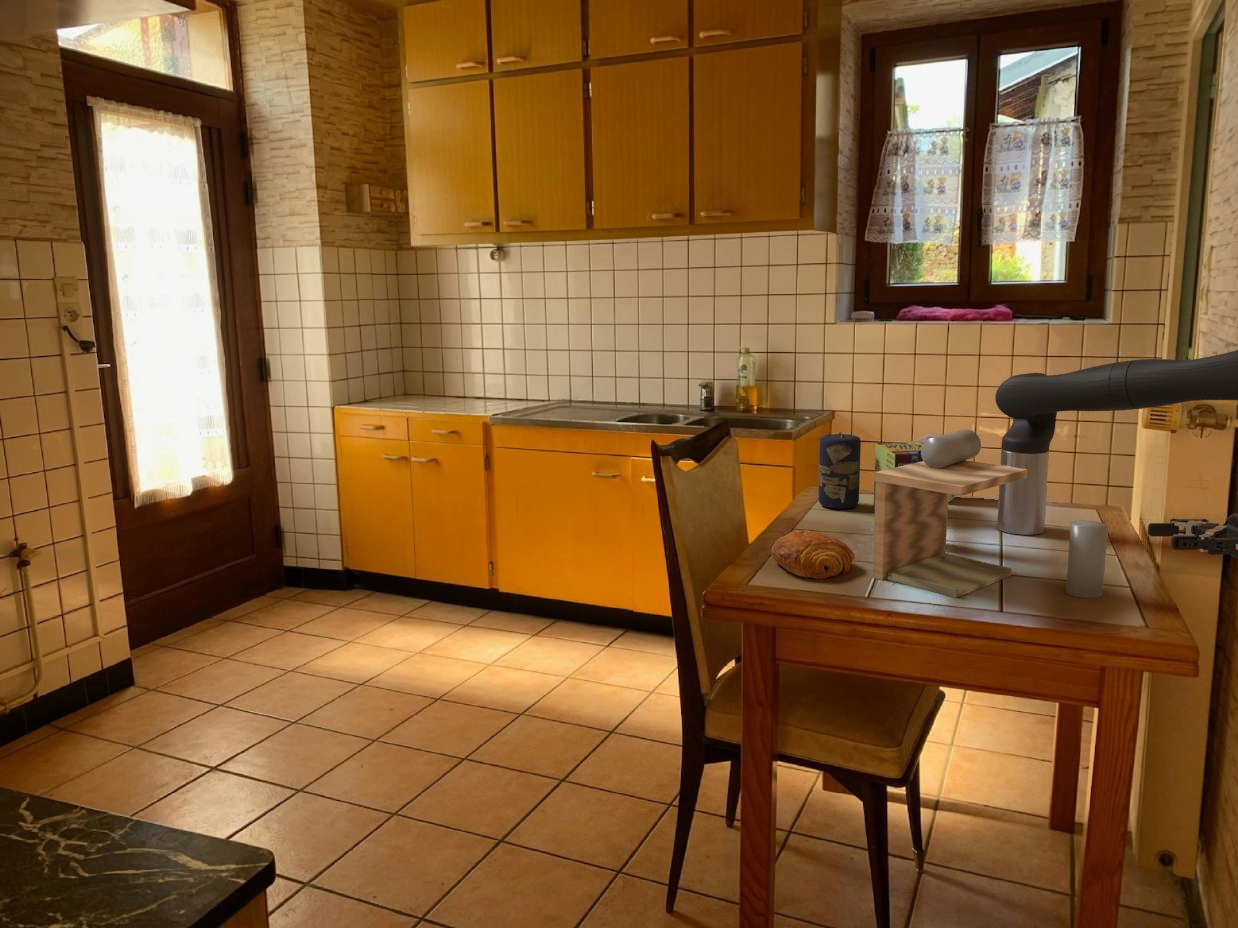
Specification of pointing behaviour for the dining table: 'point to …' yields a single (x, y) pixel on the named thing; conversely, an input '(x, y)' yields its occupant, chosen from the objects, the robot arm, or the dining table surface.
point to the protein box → (895, 456)
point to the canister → (839, 470)
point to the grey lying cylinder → (950, 448)
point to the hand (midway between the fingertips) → (1160, 536)
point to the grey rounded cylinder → (1086, 559)
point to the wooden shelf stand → (930, 525)
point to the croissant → (812, 554)
